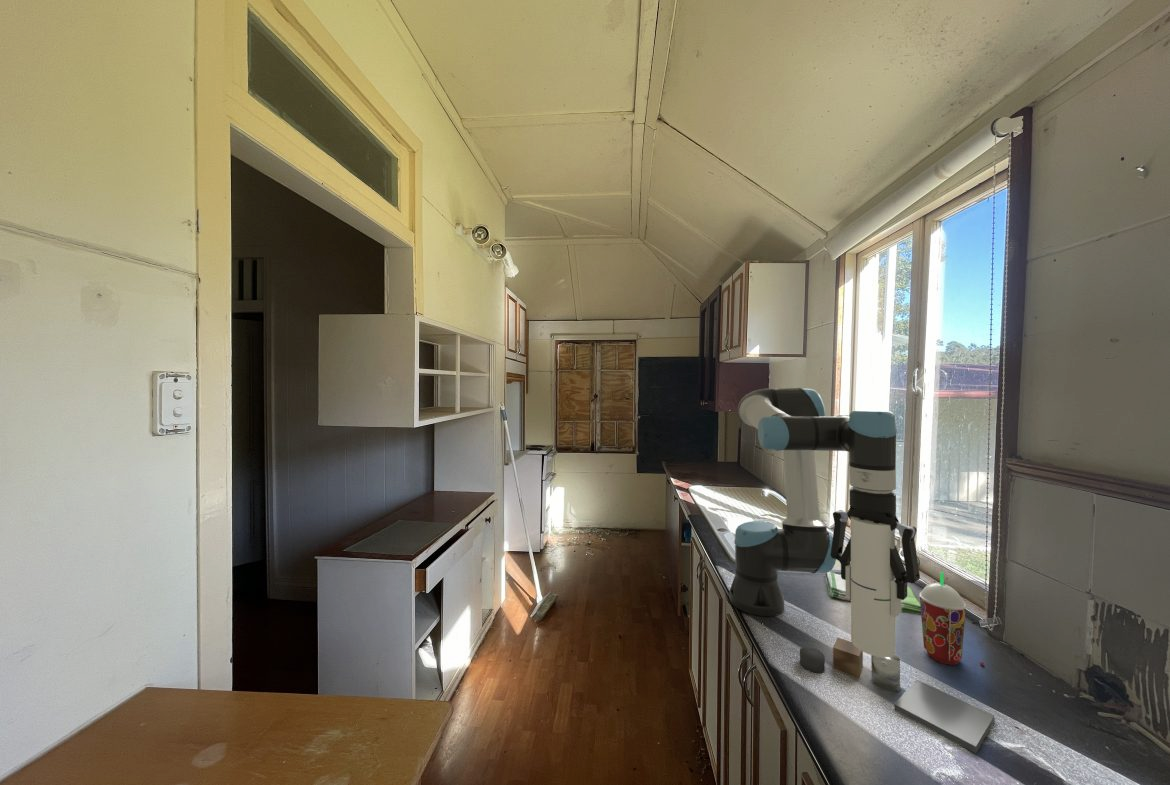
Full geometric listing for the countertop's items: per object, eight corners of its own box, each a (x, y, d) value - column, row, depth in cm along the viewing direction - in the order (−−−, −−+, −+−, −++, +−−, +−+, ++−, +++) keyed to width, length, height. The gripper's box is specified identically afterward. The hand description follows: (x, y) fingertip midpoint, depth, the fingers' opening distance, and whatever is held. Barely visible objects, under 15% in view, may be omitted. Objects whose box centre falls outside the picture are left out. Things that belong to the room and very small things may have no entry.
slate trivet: (894, 709, 82) (894, 703, 82) (917, 685, 89) (917, 679, 89) (975, 753, 72) (975, 746, 72) (994, 721, 79) (994, 715, 79)
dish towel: (824, 577, 141) (824, 566, 141) (908, 590, 131) (908, 579, 131) (829, 600, 126) (829, 588, 126) (925, 617, 116) (925, 604, 116)
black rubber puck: (795, 664, 96) (795, 651, 96) (806, 656, 98) (806, 644, 98) (817, 677, 92) (817, 663, 92) (828, 668, 94) (828, 655, 94)
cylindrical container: (853, 630, 87) (853, 511, 86) (896, 643, 82) (895, 518, 82) (848, 647, 81) (848, 520, 81) (894, 662, 76) (893, 528, 76)
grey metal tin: (867, 682, 90) (867, 654, 90) (877, 673, 92) (877, 646, 92) (894, 695, 86) (894, 667, 86) (904, 686, 88) (903, 658, 88)
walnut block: (833, 669, 94) (833, 647, 94) (837, 658, 98) (837, 637, 98) (859, 679, 91) (859, 656, 91) (862, 667, 94) (862, 645, 94)
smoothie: (976, 671, 93) (975, 582, 93) (933, 666, 94) (932, 579, 94) (951, 648, 101) (950, 566, 101) (912, 644, 102) (911, 564, 102)
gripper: (810, 482, 87) (810, 590, 88) (929, 503, 71) (929, 636, 71) (827, 477, 91) (828, 580, 92) (944, 496, 75) (944, 622, 75)
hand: (872, 604), depth 81 cm, fingers closed on cylindrical container, 7 cm apart
